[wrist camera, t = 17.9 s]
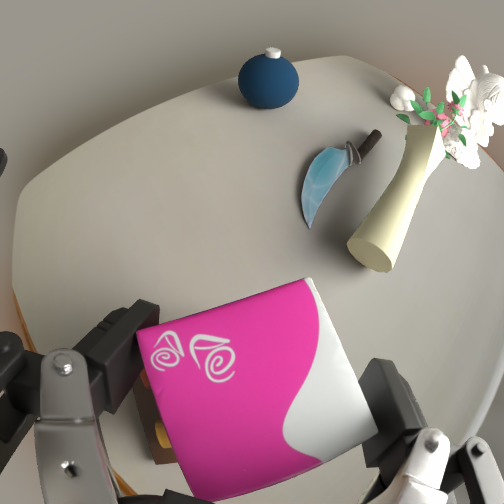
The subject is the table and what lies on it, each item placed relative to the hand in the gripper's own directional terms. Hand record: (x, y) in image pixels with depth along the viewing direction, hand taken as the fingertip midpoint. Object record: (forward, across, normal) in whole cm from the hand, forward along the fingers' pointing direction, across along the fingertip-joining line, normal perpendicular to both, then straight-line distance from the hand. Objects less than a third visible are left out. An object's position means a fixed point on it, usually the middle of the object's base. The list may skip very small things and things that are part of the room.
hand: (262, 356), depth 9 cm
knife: (+26, -6, -9) cm, 28 cm away
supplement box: (+6, 0, +8) cm, 9 cm away
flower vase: (+28, -16, -10) cm, 34 cm away
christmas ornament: (+33, +6, -16) cm, 37 cm away
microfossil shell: (+43, -19, -26) cm, 53 cm away
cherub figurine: (+40, -31, -23) cm, 55 cm away
